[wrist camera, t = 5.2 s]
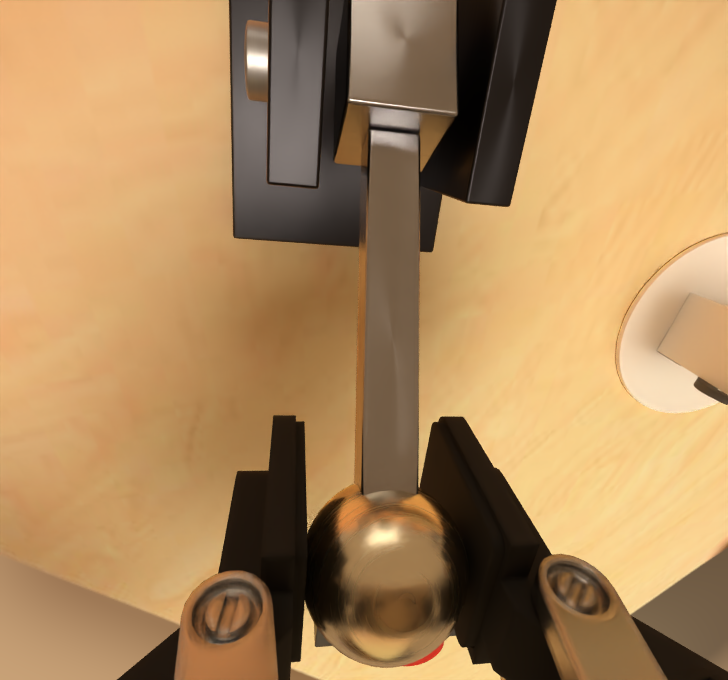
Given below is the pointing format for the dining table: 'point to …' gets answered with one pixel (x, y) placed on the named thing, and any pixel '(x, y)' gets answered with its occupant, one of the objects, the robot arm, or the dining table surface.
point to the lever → (389, 346)
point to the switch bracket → (317, 105)
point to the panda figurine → (679, 333)
